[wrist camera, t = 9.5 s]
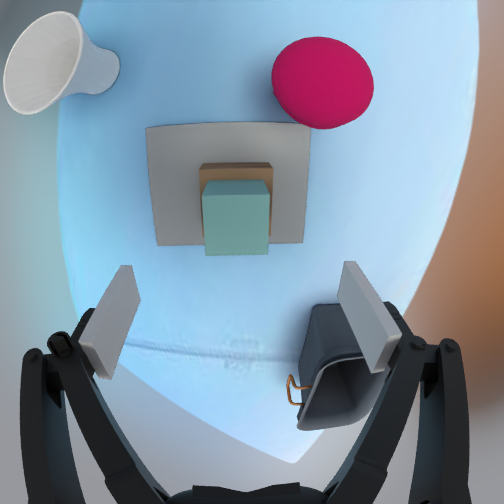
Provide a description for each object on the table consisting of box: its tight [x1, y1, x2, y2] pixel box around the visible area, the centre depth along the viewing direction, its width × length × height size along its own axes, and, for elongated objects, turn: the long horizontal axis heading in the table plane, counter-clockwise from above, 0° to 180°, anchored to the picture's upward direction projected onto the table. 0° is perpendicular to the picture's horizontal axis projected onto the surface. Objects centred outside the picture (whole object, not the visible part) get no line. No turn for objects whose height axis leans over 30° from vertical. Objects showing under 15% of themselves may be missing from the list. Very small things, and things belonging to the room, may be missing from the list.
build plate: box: [146, 122, 311, 246], centre depth 34 cm, size 16×20×1 cm
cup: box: [3, 11, 120, 115], centre depth 20 cm, size 10×10×14 cm
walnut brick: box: [199, 162, 273, 237], centre depth 33 cm, size 8×8×4 cm
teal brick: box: [202, 179, 270, 256], centre depth 28 cm, size 6×6×6 cm
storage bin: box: [286, 305, 390, 431], centre depth 42 cm, size 21×16×14 cm
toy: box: [272, 37, 374, 129], centre depth 23 cm, size 8×8×15 cm
